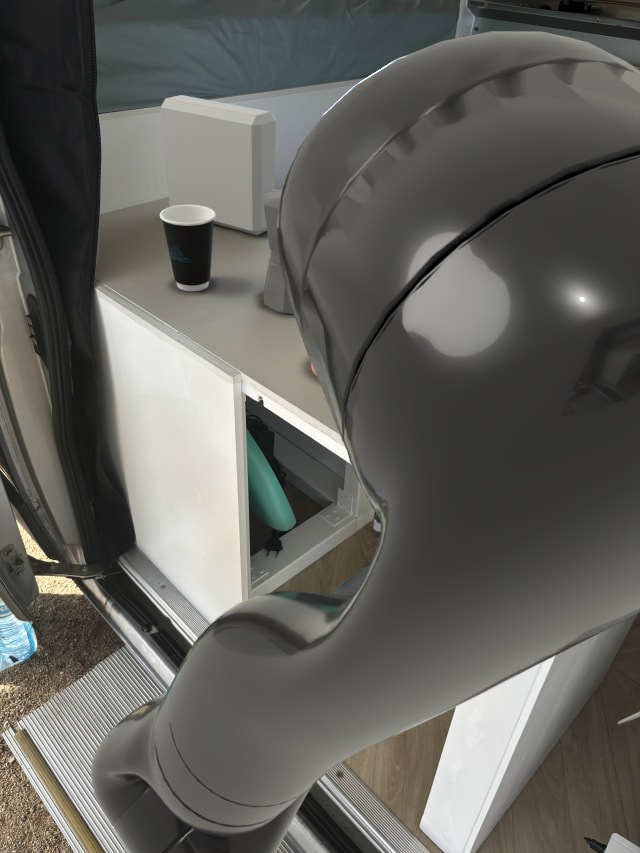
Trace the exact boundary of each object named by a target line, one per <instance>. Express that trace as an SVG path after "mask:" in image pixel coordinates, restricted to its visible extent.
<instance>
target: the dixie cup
mask: <svg viewBox="0 0 640 853" xmlns="http://www.w3.org/2000/svg"><path fill="white" fill-rule="evenodd" d="M215 217H216V214H215V212H214V211H213V210H212V209H210V208H208V207H204V206H199V205H177V206H172V207H170V206H169V207H166V208H164V209H162V210H161V211H160V212H159V218H160V220H162V225H163V230H164V235H165V240H166V245H167V249H168V255H169V259H170V263H171V269H172V274H173V278H174V281H175V282H176V286H177V288H178V289H180V290H181V291H186V292H199V291H204V290H205V289H207V288H208V287H209V285H210V284H209V282H210V280H211V275H212V274H211V273H212V256H213V240H214V239H213V238H214V225H215V224H214V218H215Z"/></svg>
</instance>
